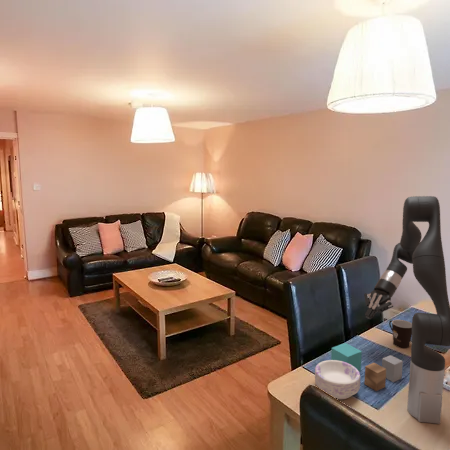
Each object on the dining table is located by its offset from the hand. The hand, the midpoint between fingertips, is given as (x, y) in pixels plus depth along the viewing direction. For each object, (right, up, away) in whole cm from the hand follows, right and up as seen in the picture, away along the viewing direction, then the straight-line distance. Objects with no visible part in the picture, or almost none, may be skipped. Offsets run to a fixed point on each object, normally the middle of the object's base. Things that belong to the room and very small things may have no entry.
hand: (367, 317), depth 138 cm
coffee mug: (+22, -16, +16) cm, 32 cm away
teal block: (-10, -19, -3) cm, 22 cm away
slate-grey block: (+5, -20, -9) cm, 23 cm away
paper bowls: (-19, -22, -18) cm, 34 cm away
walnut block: (-4, -21, -15) cm, 26 cm away
